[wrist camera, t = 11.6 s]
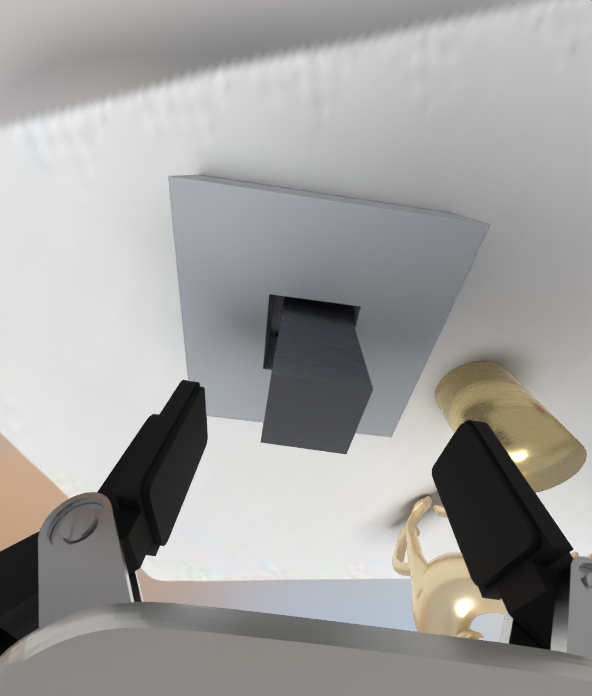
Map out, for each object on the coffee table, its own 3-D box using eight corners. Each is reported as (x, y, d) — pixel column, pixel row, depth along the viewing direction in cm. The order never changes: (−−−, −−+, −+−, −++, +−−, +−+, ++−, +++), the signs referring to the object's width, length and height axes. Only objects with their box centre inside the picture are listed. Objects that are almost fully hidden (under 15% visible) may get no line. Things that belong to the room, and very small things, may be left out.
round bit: (525, 365, 21) (610, 442, 15) (488, 418, 24) (547, 499, 18) (452, 356, 21) (510, 430, 15) (424, 410, 24) (463, 490, 18)
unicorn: (513, 443, 26) (782, 798, 11) (535, 461, 27) (804, 802, 12) (355, 525, 34) (391, 785, 20) (378, 536, 35) (427, 788, 21)
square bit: (342, 288, 18) (373, 389, 10) (329, 335, 20) (346, 454, 12) (287, 278, 18) (271, 373, 10) (280, 327, 20) (260, 442, 11)
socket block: (450, 213, 16) (490, 224, 12) (378, 398, 23) (391, 437, 20) (199, 175, 15) (168, 176, 12) (208, 377, 23) (191, 414, 19)
